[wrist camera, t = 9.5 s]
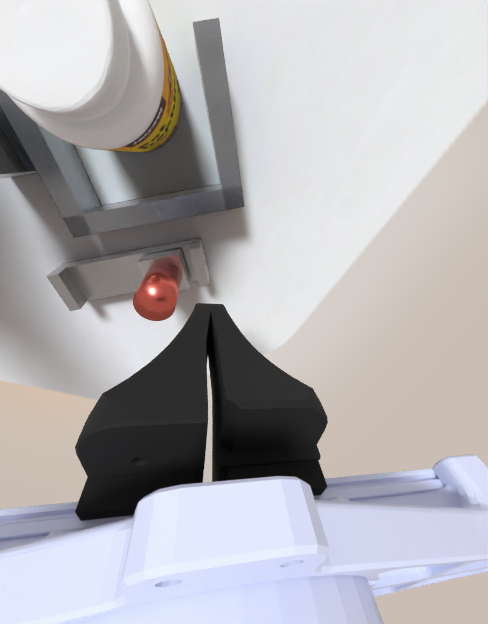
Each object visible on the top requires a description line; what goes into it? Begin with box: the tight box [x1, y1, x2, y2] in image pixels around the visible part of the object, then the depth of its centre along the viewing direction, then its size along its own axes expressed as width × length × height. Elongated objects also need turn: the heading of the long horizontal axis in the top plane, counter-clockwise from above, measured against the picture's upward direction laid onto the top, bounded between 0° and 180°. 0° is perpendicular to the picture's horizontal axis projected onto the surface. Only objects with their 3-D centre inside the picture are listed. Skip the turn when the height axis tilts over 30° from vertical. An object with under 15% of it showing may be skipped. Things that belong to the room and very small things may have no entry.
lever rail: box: [47, 238, 209, 311], centre depth 19 cm, size 11×3×2 cm, turn 98°
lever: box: [133, 249, 191, 321], centre depth 16 cm, size 3×3×5 cm
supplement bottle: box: [0, 0, 181, 152], centre depth 10 cm, size 6×6×10 cm
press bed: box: [0, 18, 244, 237], centre depth 12 cm, size 15×8×8 cm, turn 98°
